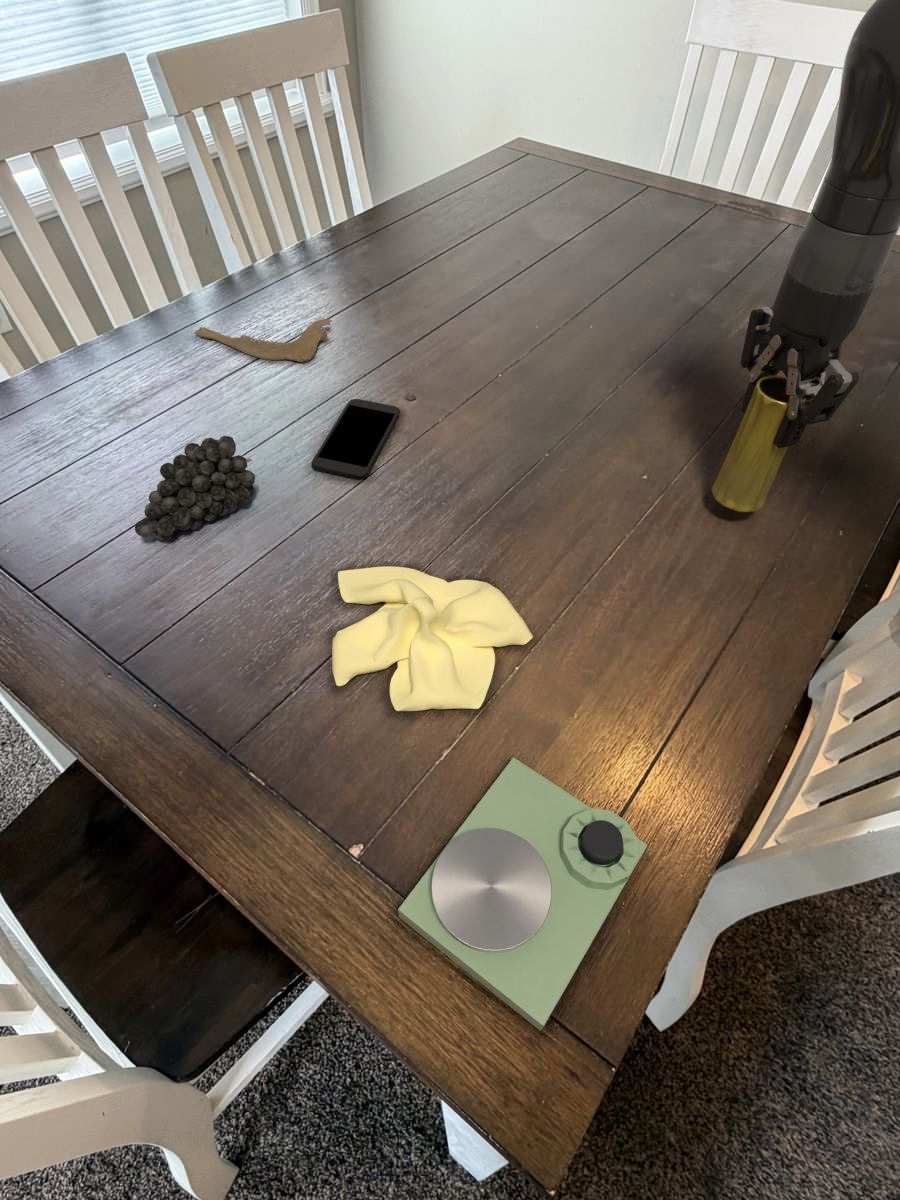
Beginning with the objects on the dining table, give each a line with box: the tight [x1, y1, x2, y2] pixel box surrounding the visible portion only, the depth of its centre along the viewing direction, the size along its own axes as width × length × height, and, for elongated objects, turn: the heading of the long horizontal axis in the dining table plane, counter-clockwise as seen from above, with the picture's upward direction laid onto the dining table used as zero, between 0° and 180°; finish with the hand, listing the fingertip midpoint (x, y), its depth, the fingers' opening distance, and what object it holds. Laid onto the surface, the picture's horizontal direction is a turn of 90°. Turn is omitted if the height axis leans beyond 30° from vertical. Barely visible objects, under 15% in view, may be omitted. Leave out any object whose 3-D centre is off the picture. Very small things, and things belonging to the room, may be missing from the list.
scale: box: [397, 757, 648, 1032], centre depth 57 cm, size 16×13×4 cm
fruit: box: [134, 435, 256, 541], centre depth 82 cm, size 9×8×15 cm
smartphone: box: [311, 398, 401, 480], centre depth 94 cm, size 7×15×1 cm, turn 165°
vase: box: [711, 374, 806, 513], centre depth 79 cm, size 6×6×14 cm
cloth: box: [331, 565, 534, 712], centre depth 72 cm, size 22×19×6 cm
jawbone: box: [193, 318, 333, 362], centre depth 107 cm, size 9×20×2 cm, turn 95°
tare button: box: [581, 820, 623, 865], centre depth 57 cm, size 3×3×2 cm
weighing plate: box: [431, 828, 552, 953], centre depth 55 cm, size 9×9×1 cm
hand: (766, 427), depth 78 cm, fingers closed on vase, 5 cm apart
